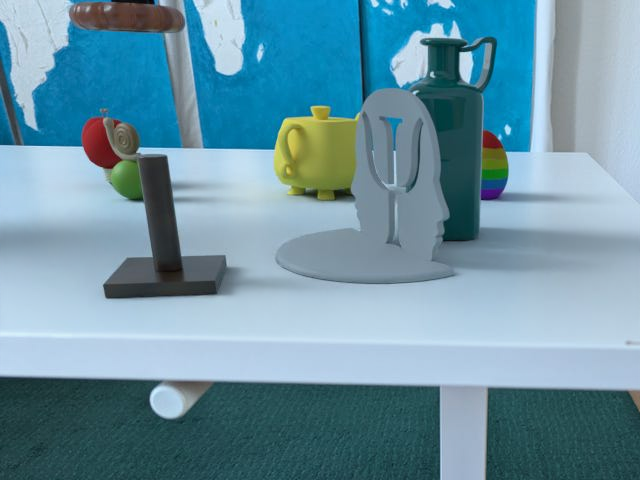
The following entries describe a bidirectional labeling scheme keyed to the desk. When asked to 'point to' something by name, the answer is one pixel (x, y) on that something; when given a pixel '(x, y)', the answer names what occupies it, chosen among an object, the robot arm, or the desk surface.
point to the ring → (126, 17)
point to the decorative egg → (493, 167)
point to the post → (163, 247)
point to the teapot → (316, 153)
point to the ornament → (384, 203)
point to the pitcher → (456, 129)
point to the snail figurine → (124, 158)
